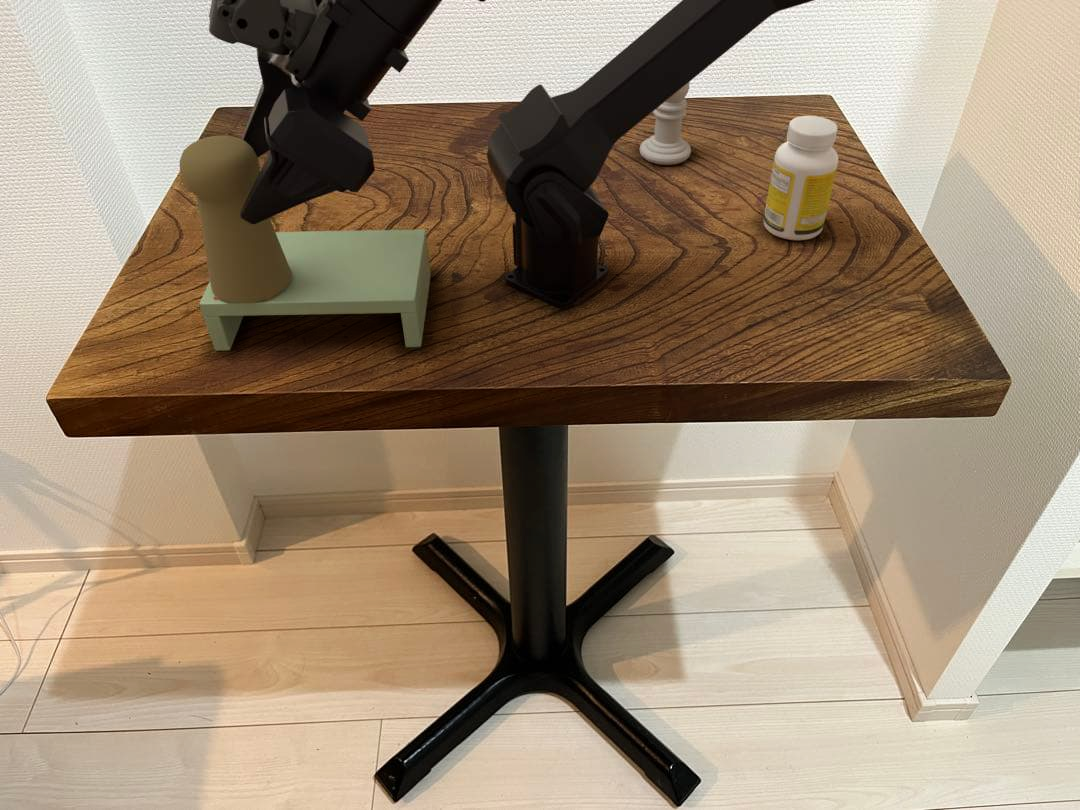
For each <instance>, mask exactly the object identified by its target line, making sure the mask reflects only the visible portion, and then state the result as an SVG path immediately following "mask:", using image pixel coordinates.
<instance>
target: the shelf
mask: <svg viewBox="0 0 1080 810" xmlns="http://www.w3.org/2000/svg"><path fill="white" fill-rule="evenodd" d="M275 233H276V235H277V238H278V240H279V242H280V245H281V247H282V250H283V252H284V255H285V257H286V260H287V262H288V264H289V267H290V269H291V272H292V279H291V282H290V283H289V284H288V286H287V287H286V288H285V289H284V290H282V291H281V292H280V293H278V294H277V295H274V296H272V297H270V298H268V299H265V300H261V301H257V302H253V303H232V302H227V301H224V300H222V299H219V298H218V297H217V296H216V295H215V294H213V292H212V289H211V284H210V281H209V282H208V284H207V286H206V289H205V291H204V293H203V295H202V297H201V299H200V301H199V307H200V311H201V313H202V316H203V320H204V322H205V325H206V327H207V331H208V334H209V337H210V340H211V342H212V345H213V348H214V351H217V352H219V351H231V349H232V347H233V344H234V341H235V339H236V337H237V334H238V332H239V329H240V326H241V323H242V321H243V318H244V317H246V316H249V317H250V316H289V315H290V316H298V315H299V316H300V315H301V316H303V315H307V316H308V315H349V314H350V315H352V314H353V315H354V314H355V315H357V314H358V315H359V314H400V317H401V324H402V330H403V337H404V344H405V348H421V347H422V343H423V334H424V326H425V320H426V315H427V314H426V312H427V306H428V298H429V292H430V291H429V289H430V283H431V277H432V272H431V265H430V253H429V246H428V239H427V230H426V229H425V228H423V229H422V228H421V229H372V230H371V229H368V230H365V229H363V230H318V231H317V230H315V231H307V230H306V231H275Z"/></svg>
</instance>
